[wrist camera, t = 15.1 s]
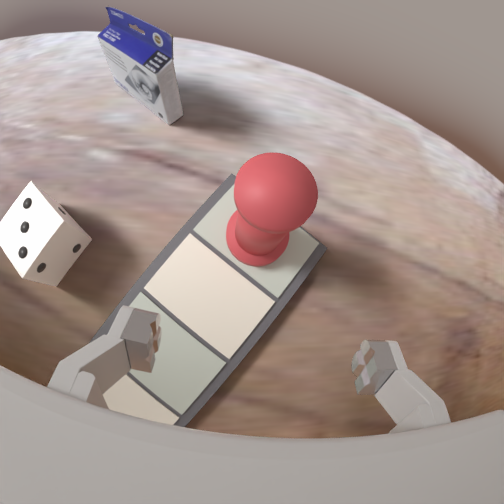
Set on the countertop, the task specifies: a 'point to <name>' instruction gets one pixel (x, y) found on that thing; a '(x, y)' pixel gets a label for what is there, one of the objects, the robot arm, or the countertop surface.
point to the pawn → (269, 207)
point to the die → (41, 237)
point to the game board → (204, 312)
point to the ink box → (142, 63)
